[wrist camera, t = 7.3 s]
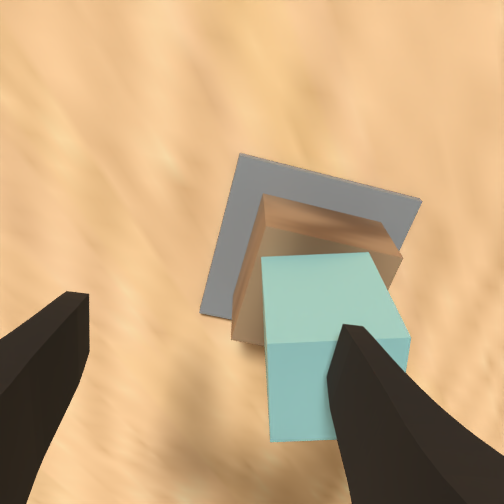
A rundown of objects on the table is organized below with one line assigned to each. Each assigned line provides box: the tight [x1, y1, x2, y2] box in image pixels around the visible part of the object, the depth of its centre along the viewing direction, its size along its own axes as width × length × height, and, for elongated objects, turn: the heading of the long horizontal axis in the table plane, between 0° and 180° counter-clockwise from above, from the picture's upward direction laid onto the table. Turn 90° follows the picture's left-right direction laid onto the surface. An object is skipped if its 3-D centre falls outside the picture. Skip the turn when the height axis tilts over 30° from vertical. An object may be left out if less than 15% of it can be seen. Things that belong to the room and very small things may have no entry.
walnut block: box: [231, 193, 403, 346], centre depth 22 cm, size 6×6×4 cm
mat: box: [199, 153, 422, 320], centre depth 24 cm, size 9×9×1 cm
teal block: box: [261, 252, 411, 442], centre depth 18 cm, size 4×4×6 cm
